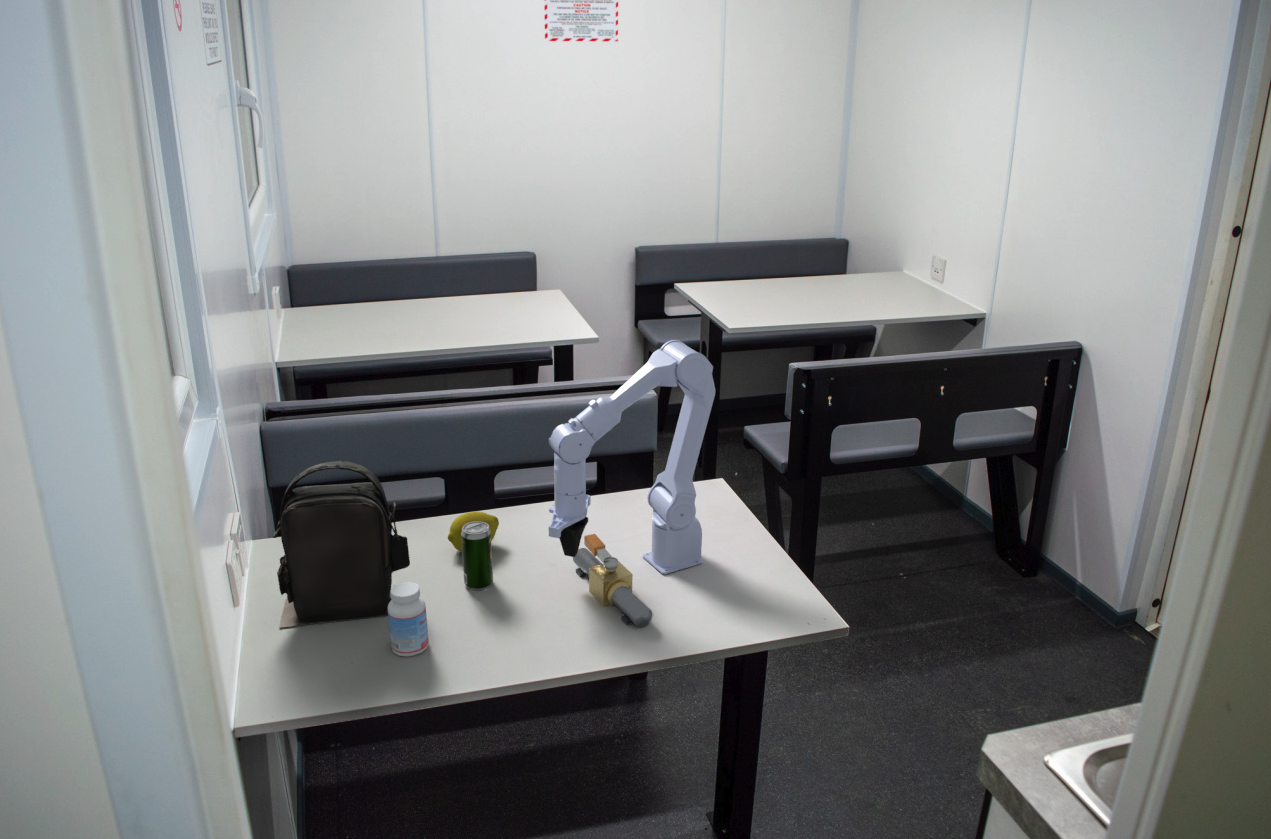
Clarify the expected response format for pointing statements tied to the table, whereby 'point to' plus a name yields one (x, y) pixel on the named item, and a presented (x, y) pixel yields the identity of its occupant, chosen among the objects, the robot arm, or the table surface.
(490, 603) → the table surface
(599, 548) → the valve lever
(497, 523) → the lemon
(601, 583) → the valve pipe
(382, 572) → the shoulder bag
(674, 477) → the robot arm
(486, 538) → the beer can
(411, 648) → the pill bottle
